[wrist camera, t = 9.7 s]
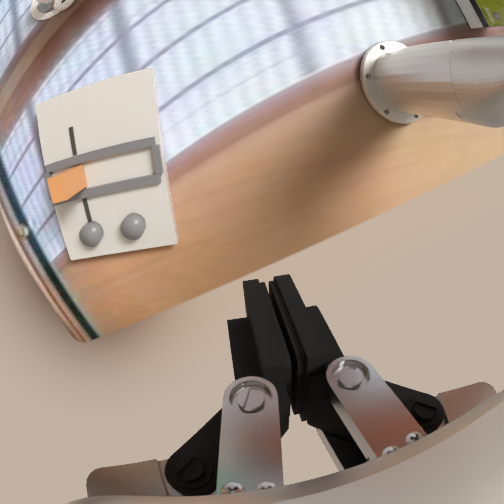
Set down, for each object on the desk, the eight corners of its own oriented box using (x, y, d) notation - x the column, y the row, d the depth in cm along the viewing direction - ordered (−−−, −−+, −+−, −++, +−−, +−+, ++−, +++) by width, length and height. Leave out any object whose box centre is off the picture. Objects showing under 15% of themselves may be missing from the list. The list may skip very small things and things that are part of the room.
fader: (83, 164, 29) (61, 174, 24) (87, 185, 30) (67, 200, 25) (69, 167, 29) (47, 179, 23) (74, 189, 30) (52, 203, 25)
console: (155, 70, 27) (149, 65, 24) (179, 237, 37) (176, 249, 34) (43, 104, 26) (29, 105, 23) (76, 253, 36) (67, 265, 33)
